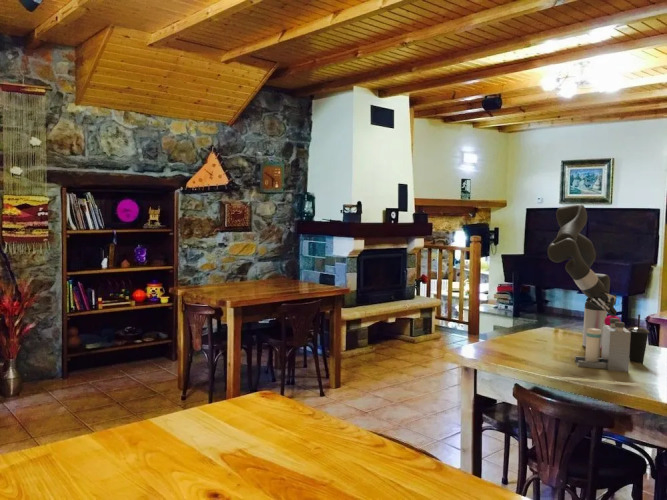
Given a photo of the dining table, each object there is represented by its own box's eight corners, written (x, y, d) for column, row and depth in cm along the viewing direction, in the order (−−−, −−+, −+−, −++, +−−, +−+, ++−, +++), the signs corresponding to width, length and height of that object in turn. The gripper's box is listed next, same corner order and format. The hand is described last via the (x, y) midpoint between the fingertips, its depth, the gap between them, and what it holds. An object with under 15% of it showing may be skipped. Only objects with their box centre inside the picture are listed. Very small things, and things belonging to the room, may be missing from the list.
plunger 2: (613, 338, 214) (614, 321, 213) (622, 339, 213) (623, 322, 212) (615, 340, 211) (616, 323, 210) (624, 340, 210) (625, 323, 209)
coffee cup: (583, 362, 222) (585, 327, 221) (597, 363, 220) (599, 328, 219) (585, 366, 217) (588, 330, 216) (600, 367, 215) (602, 331, 214)
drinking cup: (621, 360, 230) (624, 312, 229) (639, 361, 231) (642, 312, 229) (632, 366, 222) (636, 316, 221) (651, 366, 223) (654, 316, 222)
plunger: (608, 334, 221) (609, 317, 221) (617, 334, 221) (618, 318, 220) (610, 335, 218) (611, 319, 218) (619, 336, 218) (620, 319, 217)
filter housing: (573, 362, 226) (576, 323, 225) (620, 366, 221) (622, 326, 220) (579, 370, 214) (581, 328, 213) (628, 374, 210) (630, 332, 209)
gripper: (607, 273, 204) (633, 306, 208) (578, 276, 216) (603, 307, 220) (598, 288, 202) (624, 321, 205) (569, 290, 214) (595, 321, 217)
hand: (613, 314), depth 213 cm, fingers closed
